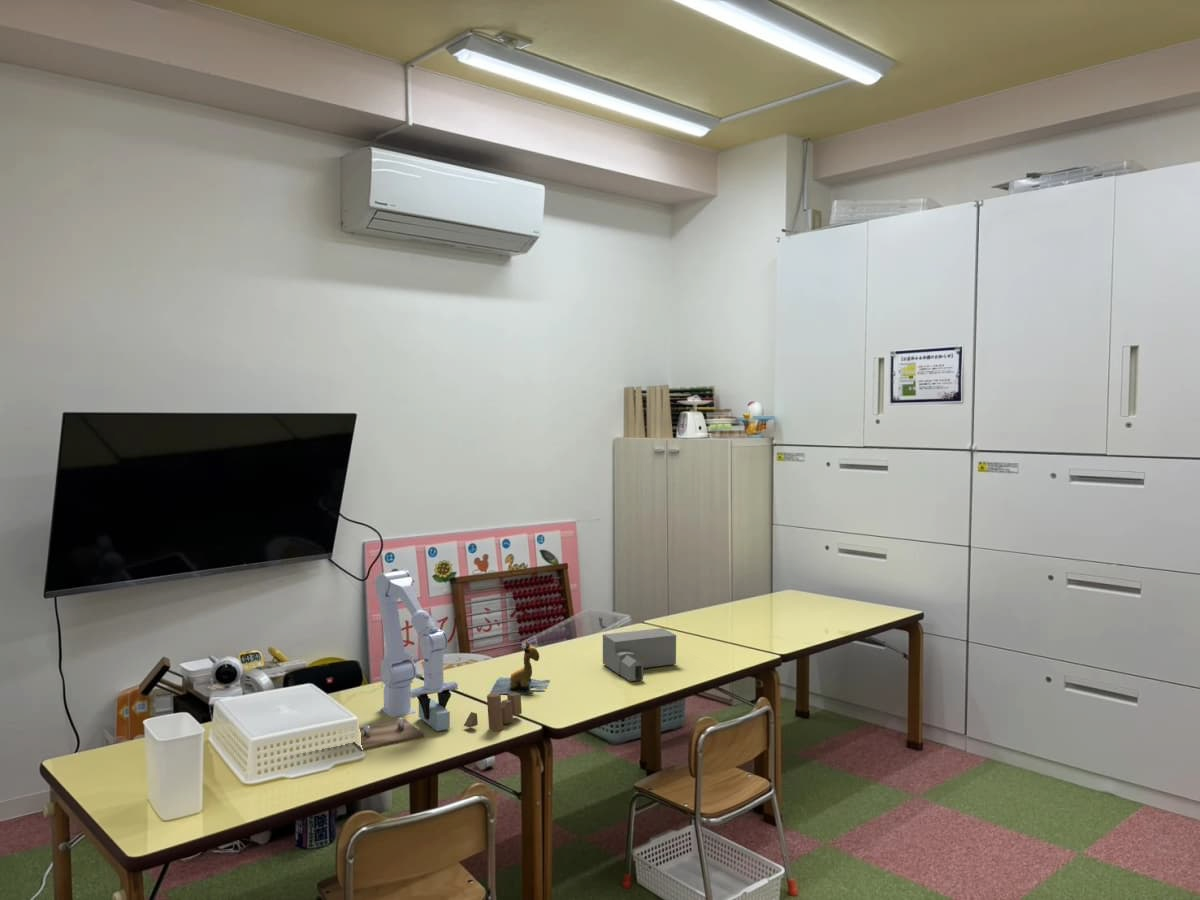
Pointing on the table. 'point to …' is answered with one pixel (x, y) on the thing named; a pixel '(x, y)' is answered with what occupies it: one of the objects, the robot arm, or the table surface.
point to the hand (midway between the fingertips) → (433, 717)
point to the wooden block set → (498, 711)
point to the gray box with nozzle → (638, 651)
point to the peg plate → (388, 733)
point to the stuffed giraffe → (521, 677)
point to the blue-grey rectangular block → (436, 716)
